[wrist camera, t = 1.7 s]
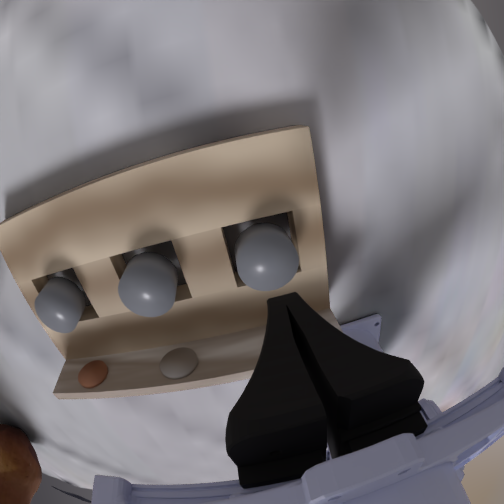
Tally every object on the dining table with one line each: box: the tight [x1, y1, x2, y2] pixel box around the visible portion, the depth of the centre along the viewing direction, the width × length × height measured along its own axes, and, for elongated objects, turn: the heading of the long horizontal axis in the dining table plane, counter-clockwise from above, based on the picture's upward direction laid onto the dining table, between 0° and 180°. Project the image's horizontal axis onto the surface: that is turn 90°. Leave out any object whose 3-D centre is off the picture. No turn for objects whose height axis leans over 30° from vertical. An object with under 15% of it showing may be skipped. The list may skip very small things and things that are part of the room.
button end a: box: [235, 223, 299, 291], centre depth 18 cm, size 4×4×2 cm
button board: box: [0, 125, 343, 399], centre depth 18 cm, size 14×23×6 cm, turn 102°
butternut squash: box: [0, 424, 42, 504], centre depth 20 cm, size 14×13×25 cm
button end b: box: [35, 277, 86, 333], centre depth 18 cm, size 4×4×2 cm
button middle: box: [118, 252, 178, 317], centre depth 18 cm, size 4×4×2 cm
